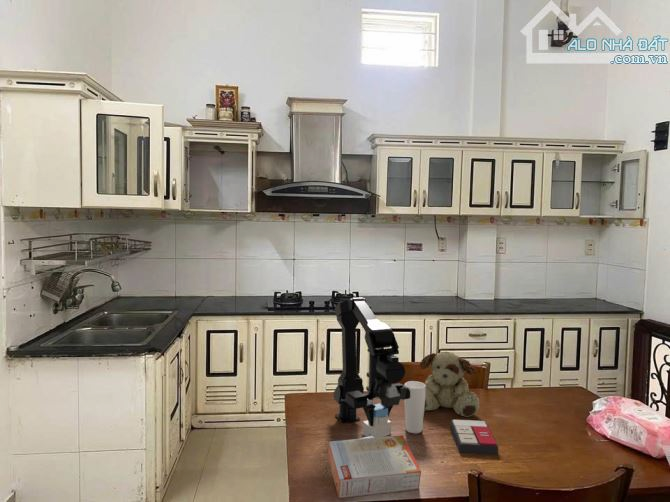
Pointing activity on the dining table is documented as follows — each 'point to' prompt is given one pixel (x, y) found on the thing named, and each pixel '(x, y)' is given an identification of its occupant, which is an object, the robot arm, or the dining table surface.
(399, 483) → the cracker box
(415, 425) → the drinking glass
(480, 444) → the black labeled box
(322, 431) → the dining table surface
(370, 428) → the plug
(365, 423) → the plug
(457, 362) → the dog
